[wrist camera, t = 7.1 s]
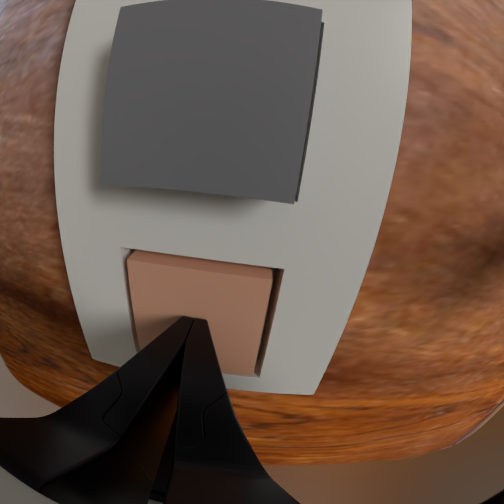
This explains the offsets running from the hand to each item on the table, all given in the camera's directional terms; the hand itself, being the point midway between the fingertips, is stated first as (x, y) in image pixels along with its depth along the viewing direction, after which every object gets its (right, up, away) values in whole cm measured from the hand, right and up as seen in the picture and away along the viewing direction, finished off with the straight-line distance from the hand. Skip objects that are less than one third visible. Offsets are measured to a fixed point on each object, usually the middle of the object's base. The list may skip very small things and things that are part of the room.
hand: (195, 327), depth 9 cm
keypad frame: (+1, +7, -1) cm, 8 cm away
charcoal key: (+1, +7, -2) cm, 7 cm away
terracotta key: (0, +1, +2) cm, 2 cm away
